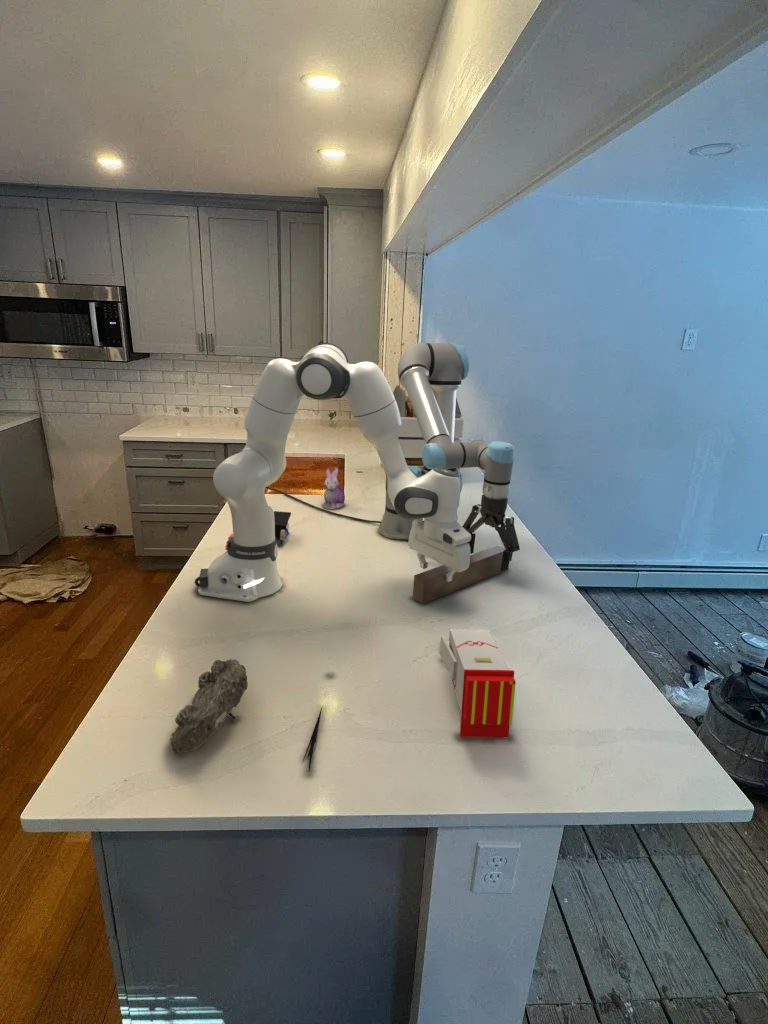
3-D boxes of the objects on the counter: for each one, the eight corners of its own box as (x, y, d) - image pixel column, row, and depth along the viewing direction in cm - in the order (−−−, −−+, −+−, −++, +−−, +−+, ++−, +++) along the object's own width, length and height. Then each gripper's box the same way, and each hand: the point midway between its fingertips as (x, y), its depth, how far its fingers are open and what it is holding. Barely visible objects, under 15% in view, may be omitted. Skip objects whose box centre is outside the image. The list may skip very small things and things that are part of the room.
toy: (489, 613, 130) (525, 677, 101) (485, 667, 133) (518, 744, 104) (437, 612, 130) (457, 676, 101) (434, 666, 133) (453, 743, 103)
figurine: (327, 510, 218) (328, 473, 213) (318, 502, 227) (318, 466, 222) (350, 508, 223) (351, 471, 218) (339, 500, 231) (340, 464, 226)
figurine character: (286, 550, 185) (292, 529, 198) (285, 530, 182) (291, 509, 195) (265, 550, 185) (273, 528, 198) (264, 529, 181) (272, 509, 195)
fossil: (195, 660, 117) (247, 628, 112) (227, 691, 120) (279, 661, 115) (146, 746, 98) (206, 711, 93) (185, 779, 101) (245, 748, 96)
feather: (331, 679, 122) (336, 673, 122) (307, 777, 96) (313, 769, 95) (324, 675, 122) (329, 669, 121) (298, 772, 95) (304, 764, 95)
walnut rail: (422, 604, 153) (424, 580, 151) (412, 598, 156) (413, 575, 153) (505, 570, 175) (508, 549, 173) (495, 565, 178) (498, 545, 176)
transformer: (381, 463, 289) (385, 382, 275) (444, 464, 292) (450, 384, 279) (389, 482, 257) (393, 392, 243) (459, 483, 261) (467, 394, 247)
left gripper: (405, 518, 158) (401, 563, 162) (460, 542, 143) (454, 591, 148) (421, 514, 162) (417, 558, 166) (476, 537, 147) (470, 585, 152)
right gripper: (454, 486, 170) (448, 550, 178) (522, 511, 153) (512, 580, 161) (471, 482, 175) (464, 544, 183) (538, 505, 158) (528, 573, 165)
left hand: (435, 574), depth 157 cm, fingers open, 8 cm apart
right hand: (486, 561), depth 172 cm, fingers open, 13 cm apart
